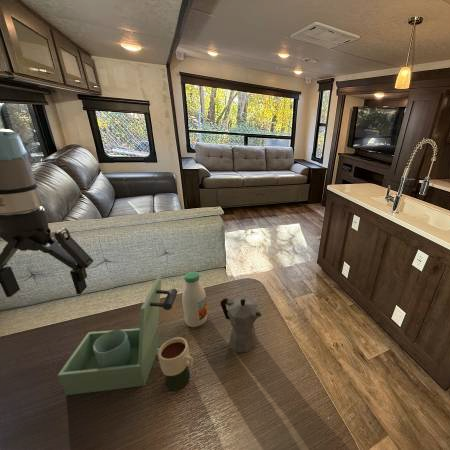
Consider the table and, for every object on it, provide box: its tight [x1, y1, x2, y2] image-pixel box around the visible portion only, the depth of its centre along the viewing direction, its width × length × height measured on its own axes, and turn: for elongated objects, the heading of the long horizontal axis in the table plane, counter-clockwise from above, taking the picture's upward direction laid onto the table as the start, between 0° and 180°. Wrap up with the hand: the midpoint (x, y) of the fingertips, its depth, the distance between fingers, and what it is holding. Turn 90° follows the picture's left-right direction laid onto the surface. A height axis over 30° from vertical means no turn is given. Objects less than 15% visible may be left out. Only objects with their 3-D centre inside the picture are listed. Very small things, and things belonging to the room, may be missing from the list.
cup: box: [93, 329, 131, 368], centre depth 70 cm, size 8×8×10 cm
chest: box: [57, 327, 161, 396], centre depth 71 cm, size 19×14×8 cm
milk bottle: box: [181, 271, 208, 328], centre depth 87 cm, size 8×8×20 cm
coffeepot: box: [219, 297, 262, 353], centre depth 81 cm, size 15×9×18 cm, turn 67°
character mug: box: [156, 337, 194, 391], centre depth 68 cm, size 11×7×13 cm, turn 77°
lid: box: [138, 274, 178, 365], centre depth 68 cm, size 19×14×6 cm
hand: (48, 291), depth 59 cm, fingers open, 13 cm apart
